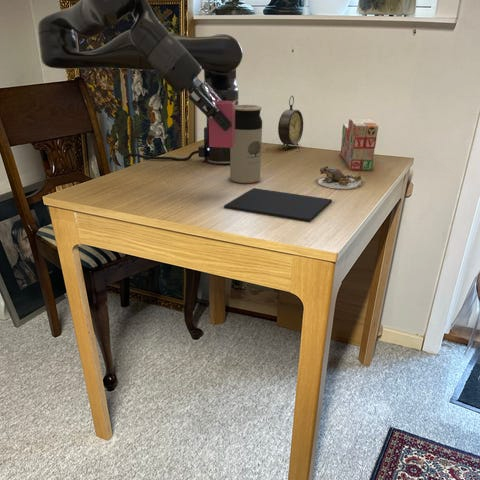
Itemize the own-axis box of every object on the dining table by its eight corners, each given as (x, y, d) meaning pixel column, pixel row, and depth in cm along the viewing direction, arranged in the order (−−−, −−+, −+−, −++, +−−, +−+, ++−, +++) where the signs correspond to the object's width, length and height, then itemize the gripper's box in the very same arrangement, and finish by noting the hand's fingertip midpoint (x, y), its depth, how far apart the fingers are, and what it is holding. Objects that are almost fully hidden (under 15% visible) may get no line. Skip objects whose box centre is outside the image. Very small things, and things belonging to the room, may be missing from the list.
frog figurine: (312, 186, 127) (313, 171, 125) (322, 175, 137) (323, 161, 135) (357, 191, 124) (359, 176, 122) (364, 180, 133) (366, 165, 131)
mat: (224, 207, 110) (224, 205, 110) (253, 190, 123) (253, 187, 123) (309, 222, 103) (309, 219, 103) (331, 201, 116) (331, 199, 115)
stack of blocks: (339, 154, 161) (344, 113, 155) (359, 154, 161) (364, 113, 155) (350, 170, 143) (355, 124, 136) (372, 170, 143) (378, 125, 136)
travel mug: (225, 177, 133) (225, 105, 124) (252, 175, 136) (254, 104, 127) (237, 185, 127) (238, 109, 118) (265, 182, 130) (268, 108, 121)
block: (209, 146, 110) (208, 103, 106) (212, 142, 115) (212, 100, 110) (232, 147, 110) (232, 103, 106) (234, 143, 115) (235, 100, 110)
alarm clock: (288, 151, 164) (291, 97, 156) (274, 149, 166) (276, 96, 158) (302, 145, 172) (306, 94, 164) (289, 143, 175) (292, 93, 166)
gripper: (170, 75, 113) (223, 132, 118) (154, 80, 101) (214, 144, 106) (192, 49, 110) (245, 109, 115) (179, 51, 97) (239, 118, 103)
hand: (230, 125), depth 110 cm, fingers closed on block, 5 cm apart
